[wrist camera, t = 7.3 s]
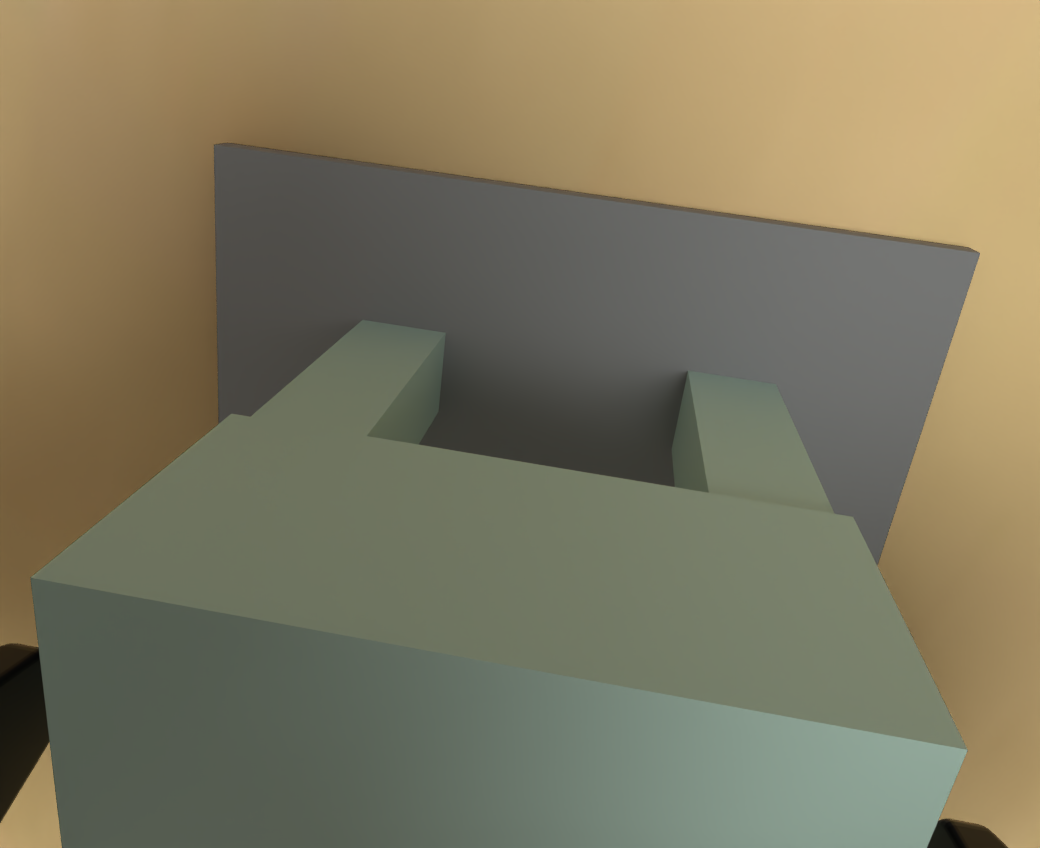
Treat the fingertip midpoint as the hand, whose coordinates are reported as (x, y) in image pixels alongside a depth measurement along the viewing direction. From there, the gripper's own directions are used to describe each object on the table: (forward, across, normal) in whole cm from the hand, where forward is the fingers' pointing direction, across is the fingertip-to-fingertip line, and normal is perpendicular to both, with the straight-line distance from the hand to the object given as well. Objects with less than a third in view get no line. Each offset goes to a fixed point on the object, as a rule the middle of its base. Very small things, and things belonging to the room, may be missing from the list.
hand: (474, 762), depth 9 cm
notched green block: (+5, 0, 0) cm, 5 cm away
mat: (+5, 0, 0) cm, 5 cm away
